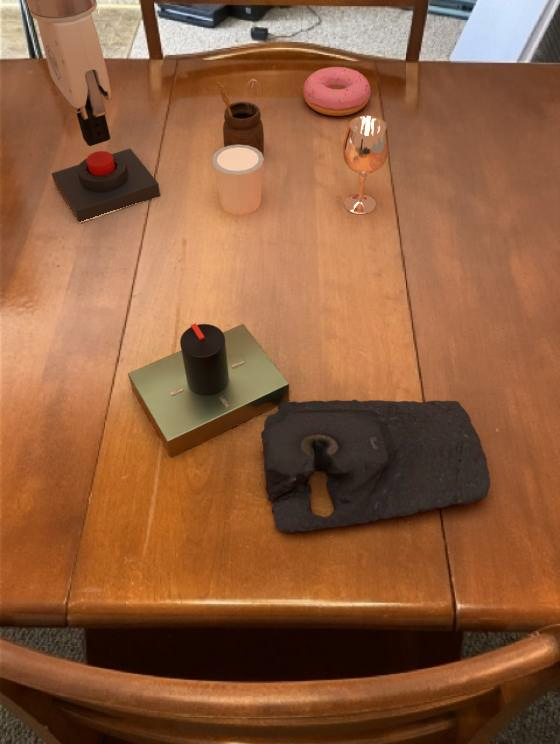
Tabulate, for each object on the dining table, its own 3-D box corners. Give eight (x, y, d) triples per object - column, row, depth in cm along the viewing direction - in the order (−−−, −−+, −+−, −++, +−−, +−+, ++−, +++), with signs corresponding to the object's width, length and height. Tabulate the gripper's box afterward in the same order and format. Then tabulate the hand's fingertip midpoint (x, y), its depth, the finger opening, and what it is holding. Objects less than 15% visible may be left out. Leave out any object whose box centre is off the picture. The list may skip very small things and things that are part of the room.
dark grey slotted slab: (498, 530, 64) (511, 506, 60) (263, 538, 63) (262, 514, 59) (465, 399, 73) (474, 371, 69) (261, 405, 73) (259, 377, 69)
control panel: (171, 457, 69) (166, 440, 66) (132, 390, 74) (127, 372, 72) (289, 400, 73) (289, 382, 71) (244, 341, 79) (243, 322, 76)
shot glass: (226, 222, 92) (222, 179, 87) (208, 194, 96) (204, 151, 91) (272, 209, 94) (272, 166, 88) (253, 182, 98) (251, 139, 92)
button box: (79, 224, 92) (72, 200, 89) (55, 186, 97) (47, 162, 94) (160, 196, 96) (156, 172, 93) (132, 161, 101) (128, 136, 98)
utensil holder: (271, 156, 102) (270, 79, 92) (236, 170, 100) (231, 93, 90) (250, 138, 105) (247, 61, 96) (215, 151, 103) (208, 74, 93)
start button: (94, 180, 92) (91, 169, 91) (85, 166, 94) (82, 155, 93) (119, 172, 93) (117, 161, 92) (109, 159, 95) (107, 148, 94)
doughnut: (362, 125, 107) (364, 100, 104) (294, 114, 109) (295, 90, 106) (375, 90, 114) (378, 66, 110) (311, 81, 116) (312, 57, 112)
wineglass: (374, 189, 96) (384, 111, 87) (385, 214, 93) (396, 136, 84) (335, 193, 96) (340, 115, 87) (344, 219, 92) (350, 140, 83)
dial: (236, 384, 71) (232, 344, 66) (197, 401, 69) (190, 361, 65) (217, 356, 73) (212, 315, 68) (180, 371, 72) (172, 331, 67)
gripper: (7, -22, 79) (52, 122, 93) (49, 29, 71) (91, 178, 85) (69, -36, 81) (103, 106, 96) (116, 11, 73) (146, 159, 88)
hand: (97, 140), depth 90 cm, fingers closed
